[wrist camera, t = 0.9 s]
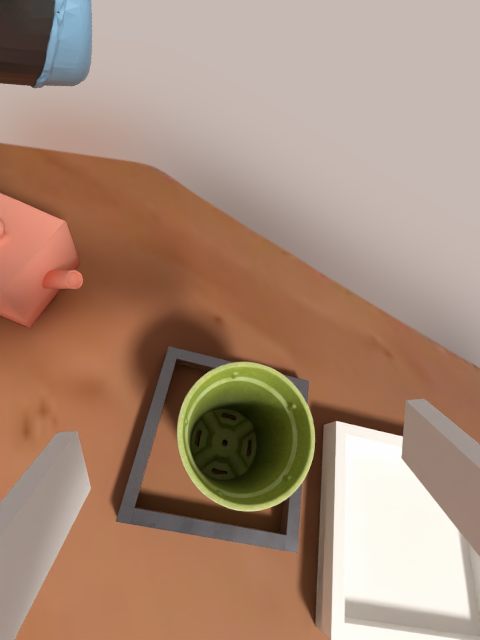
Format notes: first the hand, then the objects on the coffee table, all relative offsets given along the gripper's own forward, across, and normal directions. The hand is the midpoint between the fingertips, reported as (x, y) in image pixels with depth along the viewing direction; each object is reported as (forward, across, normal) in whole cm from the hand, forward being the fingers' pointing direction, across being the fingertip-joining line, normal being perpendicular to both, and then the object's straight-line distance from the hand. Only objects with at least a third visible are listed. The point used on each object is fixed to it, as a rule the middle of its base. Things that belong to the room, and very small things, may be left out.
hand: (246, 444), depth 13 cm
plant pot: (+14, -2, -10) cm, 17 cm away
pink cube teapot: (+20, -19, +4) cm, 28 cm away
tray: (+11, +13, -18) cm, 25 cm away
